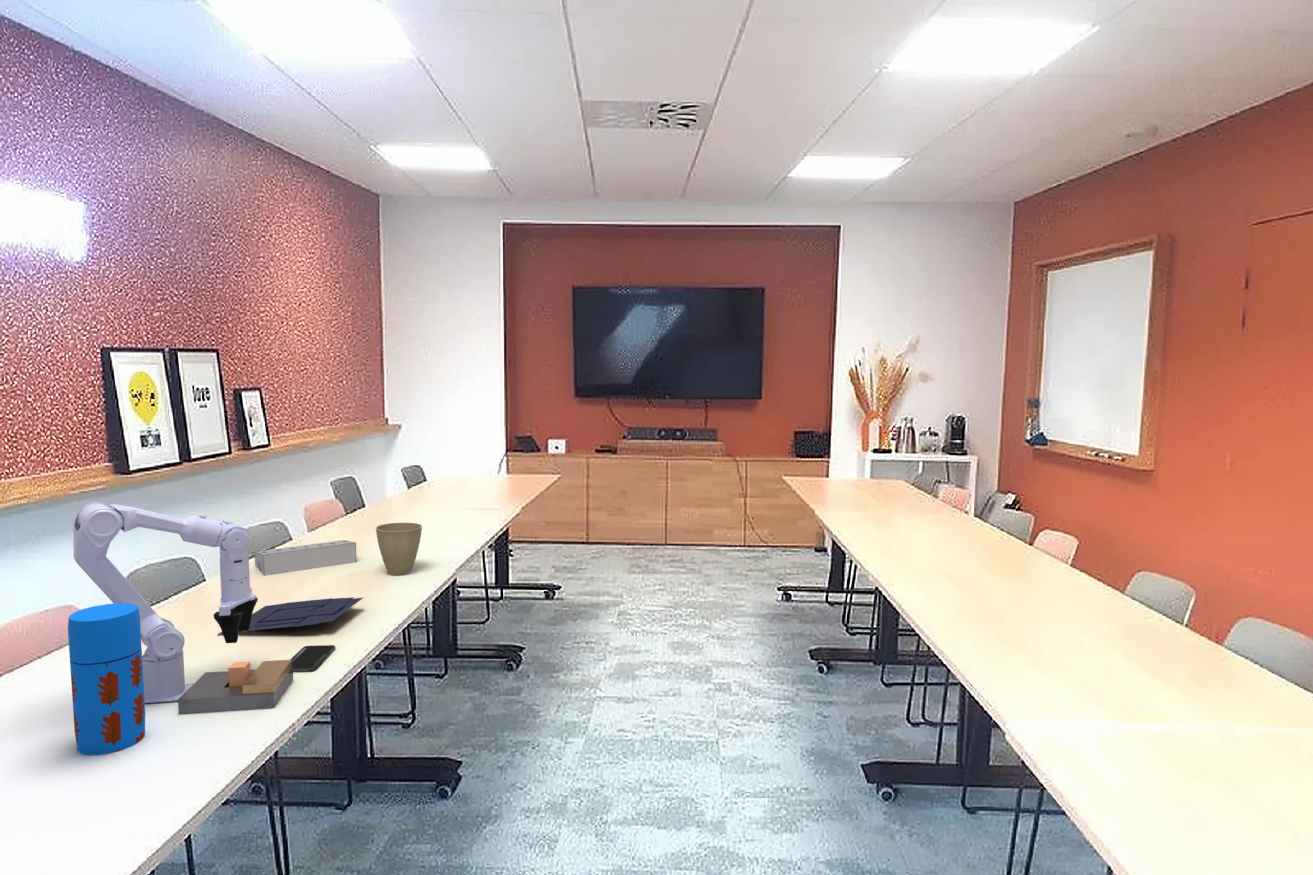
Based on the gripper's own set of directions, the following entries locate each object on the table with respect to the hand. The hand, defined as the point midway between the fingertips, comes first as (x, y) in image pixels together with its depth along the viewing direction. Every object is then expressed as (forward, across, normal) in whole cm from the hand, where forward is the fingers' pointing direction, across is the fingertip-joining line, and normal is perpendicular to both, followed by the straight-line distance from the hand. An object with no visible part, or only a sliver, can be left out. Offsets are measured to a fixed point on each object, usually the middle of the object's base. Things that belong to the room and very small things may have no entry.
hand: (237, 636), depth 173 cm
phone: (+10, +8, -13) cm, 18 cm away
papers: (+10, +38, -2) cm, 39 cm away
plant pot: (+10, +84, -23) cm, 88 cm away
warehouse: (+10, +100, +11) cm, 101 cm away
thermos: (+10, -28, +13) cm, 32 cm away
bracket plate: (+9, -11, -4) cm, 15 cm away
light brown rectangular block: (+9, -11, -4) cm, 15 cm away
